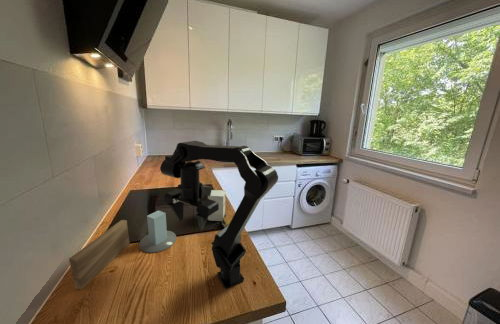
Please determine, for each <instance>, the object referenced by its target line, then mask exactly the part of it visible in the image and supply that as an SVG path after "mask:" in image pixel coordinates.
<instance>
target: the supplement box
mask: <svg viewBox="0 0 500 324" xmlns="http://www.w3.org/2000/svg"><path fill="white" fill-rule="evenodd" d="M207 199H210V200H213V201H216V202H218V204H219V210H217V211H216V212H214V213H213V214H211V215H210V216H208V218H207V220H208V221H212V222H213V221H215V222H221V220H222V218H225V214H226V190H221V189H219V190H218V189H217V190H215V189H212V191H211V195H210V196H207Z"/></svg>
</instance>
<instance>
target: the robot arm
mask: <svg viewBox="0 0 500 324" xmlns="http://www.w3.org/2000/svg"><path fill="white" fill-rule="evenodd" d="M200 160H210V161H220V162H221V161H222V162H233V163H234V164H235V165H236V168H237V170H238V172H239V176H240V177H241V179H242V180H243V181H244V182H245V183H244V186H243V193H244V195H243V198H242V199H241V201H240V203H239V205H238V207H237V208H236V211H235V213H234V214H233V215H232V216H233V218H232V220H231V222H230V224H229V226H228V225H227V226H226V227H223V228H222V229H221V230H220V231H219V232H218V233H216V234H215V236H214V239H213V241H212V242H210V244H211V245H212V246H211V251H212V256H213V259H214V262H215V265H216V267H217V268H219V270H220V271H218V272H217V273H216V274H217V277H218V278H219V280H220V282H221V284H222V286H223V288H224V289H229V288H231V287H233V286H235V285H237V284H240V283H242V282H244V281H245V278H244V277H243V275H242V274H241V259H242V258H243V257H244V256H245V255H246V253H247V250H246V248H245V246H243V244H242V243H241V241H242V233H243V231H244V230H245V227H246V225H247V224H248V223H249V221H250V219H251V217H252V215H253V214H254V212H255V210H256V208H257V207H258V205H259V203H260V201H261V200H262V199H263V197H265V196H266V194H268V193H269V191H270V190H271V189H272V188H273V187H274V186H275V185H276V184H277V183H278V181H279V175H278V173H277V172H278V171H276V169H275V168H274V167H273V166H270V164H269V163H267V161H266V160H265V159H263V158H262V157H260V156H259V155H257V154H256V153H255V152H254V151H253V150H252V149H251V147H249V146H247V145H240V146H239V145H237V146H236V145H213V144H207V143H205V142H204V141H203V142H202V141H199V140H190V141H183V142H182V141H181V142H178V143H177V144H176V147H175V150H174V152H173V153H172V154H169V155H165V156H164V160H163V161H162V162H161V164H160V172H161V174H162V175H164V176H166V177H167V176H168V177H171V178H175V179H180V184H177V188H176V189H173V190H171V191H169V192H165V195H164V197H163V200H164V203H166V204H167V206H169V208H170V209H171V210H172V211H173V213H174V214H175V216H176V217H177V219H178V220H179V222H183V221H184V207H185V204H186V205H190V206H194V207H196V212H197V213H196V214H195V216H196V219H197V222H198V227H199V229H200V231H203V230H204V228H205V226H206V223H207V222H208V221H207V220H208V216H210V215H211V214H213V213H214V212H216V211H217V210H219V204H218V202H216V201H213V200H210V199H208V198H207V199H206V200H204V201H201V200H200V199H204V198H205V196H206V197H208V196H210V195H211V191H212V190H213V187H212V186H209V185H206V184H203V182H201V181H200V171H201V170H203V169H206V167H205V165H204V164H203V163H202V162H201V161H200Z"/></svg>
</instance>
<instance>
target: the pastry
mask: <svg viewBox="0 0 500 324" xmlns="http://www.w3.org/2000/svg"><path fill="white" fill-rule="evenodd" d="M233 216H234V215H226V216H225V215H224V218H222V220H221V221H220V222H221V225H222V226H223V228H225V227H226V226H227V225H228V226H229V224H230V222H231V220H232V218H233Z"/></svg>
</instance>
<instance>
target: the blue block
mask: <svg viewBox="0 0 500 324" xmlns="http://www.w3.org/2000/svg"><path fill="white" fill-rule="evenodd" d="M166 215H167V214H166V212H165V211H164V212H163V211H161V210H159V209H158V210H157V211H154V212H152V213H150V214H148V215H146V221H147V233H148V234H149V242H151V243H153V244H155V245H158V244H159V243H161V242H162V241H164V240H165V239H167V216H166ZM148 234H147V235H148Z"/></svg>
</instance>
